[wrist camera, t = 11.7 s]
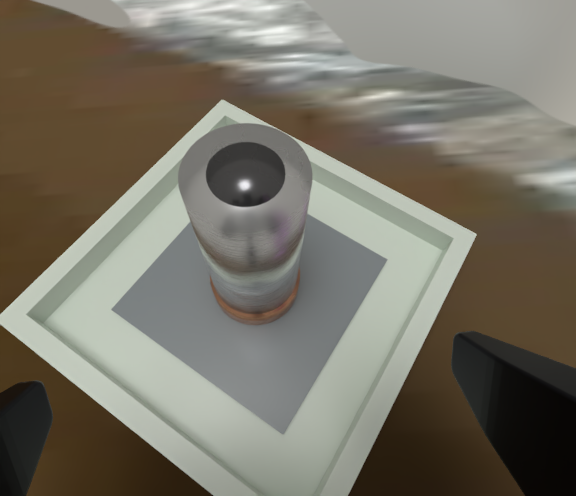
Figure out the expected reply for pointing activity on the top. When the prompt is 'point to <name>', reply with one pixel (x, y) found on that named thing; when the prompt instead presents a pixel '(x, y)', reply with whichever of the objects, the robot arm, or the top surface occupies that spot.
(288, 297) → the metal sleeve
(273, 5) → the top surface
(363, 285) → the sage tray
